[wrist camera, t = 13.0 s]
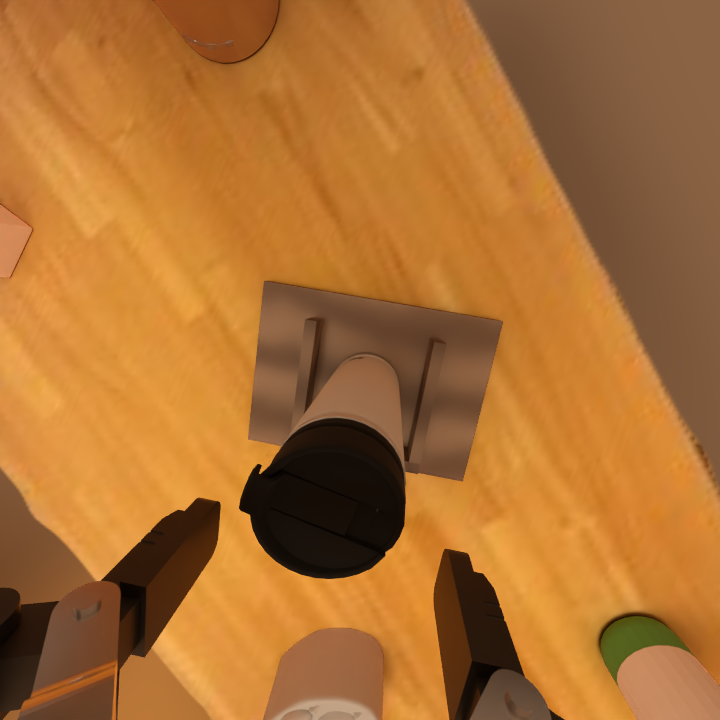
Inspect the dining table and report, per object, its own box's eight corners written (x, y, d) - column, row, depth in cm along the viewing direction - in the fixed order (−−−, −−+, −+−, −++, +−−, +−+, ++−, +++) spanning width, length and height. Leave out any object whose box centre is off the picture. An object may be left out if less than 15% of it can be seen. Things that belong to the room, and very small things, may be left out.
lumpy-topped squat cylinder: (268, 661, 41) (237, 756, 33) (346, 609, 39) (333, 697, 30) (325, 716, 42) (309, 822, 34) (405, 668, 40) (409, 770, 31)
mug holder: (267, 281, 32) (250, 279, 28) (499, 320, 31) (515, 324, 27) (251, 435, 35) (234, 452, 31) (460, 476, 34) (469, 499, 30)
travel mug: (345, 339, 31) (267, 418, 12) (409, 368, 31) (438, 492, 12) (321, 398, 33) (216, 554, 13) (383, 425, 33) (369, 621, 13)
